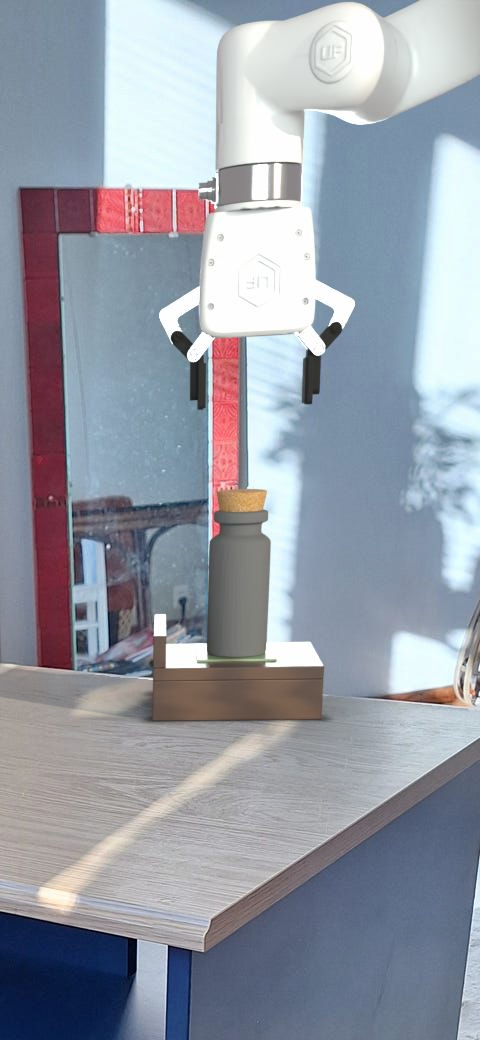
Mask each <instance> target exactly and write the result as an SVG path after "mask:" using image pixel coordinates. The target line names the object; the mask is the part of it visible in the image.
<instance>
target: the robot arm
mask: <svg viewBox="0 0 480 1040" xmlns="http://www.w3.org/2000/svg"><path fill="white" fill-rule="evenodd" d="M215 74H216V78H215V79H216V81H215V82H216V83H215V84H216V85H215V86H216V88H215V92H216V93H215V98H216V99H215V175H214V177H211V180H206V181H207V182H199V183H198V201H205V200H206V201H207V202H211V205H213V204H214V212H210V213H207V214H206V219H205V223H204V229H203V236H202V246H201V255H200V271H199V286H197V287H195V288H193V289H192V290H191V291H189V292H188V293H186V294H185V295H183V296H182V297H180V298H178V299H177V300H175V301H174V302H172V303H170V304H169V305H167V306H166V307H164V308H162V309H161V310H160V312H159V314H158V316H159V319H160V322H161V324H162V326H163V328H164V330H165V332H166V334H167V336H168V338H169V340H170V342H171V344H172V345H173V346H174V347H175V348H176V349H177V350H178V351H179V352H180V353H181V355H183V356H184V358H185V359H187V360H188V362H189V401H196V402H197V403H196V409H197V411H203V410H204V409H206V408H207V406H206V405H207V362H205V355H204V354H205V352H206V351H207V349H208V348H209V347H210V345H211V344H212V343H213V341H214V340H215V339H235V338H253V337H271V336H273V337H274V336H285V335H294V334H295V336H296V338H298V340H299V341H300V342H301V344H302V345H303V346H304V347H305V349H306V350H305V356H304V357H303V358H302V379H301V380H302V381H301V403H302V404H303V405H313V398H314V397H313V395H320V391H321V371H322V368H321V367H322V355H323V354H324V353H325V351H326V350H327V349H328V348H329V347H330V346H331V345H332V343H334V342H335V340H337V338H338V337H339V336H340V335H341V334H342V333H343V330H344V327H345V326H346V324H347V322H348V320H349V318H350V316H351V314H352V312H353V310H354V308H355V306H356V303H355V300H354V299H353V298H351V297H349V296H348V295H346V294H344V293H342V292H340V291H338V290H336V289H334V288H332V287H330V286H329V285H327V284H324V283H323V282H321V281H319V280H317V279H316V250H315V248H316V247H315V231H314V223H313V214H312V210H311V207H309V206H302V205H303V203H302V201H303V174H304V170H303V169H304V145H305V117H306V116H305V113H306V111H317V112H321V113H325V114H327V115H328V114H329V115H332V116H335V117H337V118H339V119H341V120H343V121H345V122H347V123H350V124H353V125H354V124H355V125H369V124H370V125H371V124H375V123H377V122H382V121H385V120H387V119H390V118H392V117H394V116H395V117H396V116H397V115H400V114H402V113H404V112H406V111H409V110H411V109H413V108H415V107H417V106H420V105H422V104H424V103H426V102H429V101H431V100H434V99H436V98H437V97H440V96H441V95H444V94H447V93H448V92H451V91H452V90H455V89H457V88H458V87H460V86H462V85H464V84H466V83H468V82H469V81H471V80H473V79H475V78H477V77H478V76H479V75H480V0H418V1H415V2H413V3H411V4H410V5H408V6H406V7H404V8H401V9H399V10H397V11H395V12H393V13H391V14H389V15H387V16H385V17H383V16H381V15H380V14H378V13H377V12H376V11H375V10H373V8H370V7H369V6H367V5H365V4H363V3H360V2H355V1H342V2H336V3H332V4H329V5H328V4H327V5H325V6H322V7H319V8H317V9H314V10H312V11H308V12H306V13H303V14H300V15H297V16H293V17H291V18H287V19H285V20H259V21H252V22H246V23H243V24H239V25H236V26H233V27H232V28H230V29H228V30H227V31H226V32H225V33H223V35H222V36H221V38H220V39H219V42H218V44H217V50H216V73H215ZM316 300H318V301H319V302H322V303H323V304H325V305H327V306H329V307H331V308H332V309H333V311H334V313H333V316H332V318H331V320H330V322H329V325H327V326H326V327H325V329H324V330H323V331H322V332H321V333H320V334H319V335H318V333H317V332H316V331H315V330H314V328H313V327H312V325H313V323H314V319H315V313H316V312H315V311H316ZM196 306H198V319H199V320H198V321H199V327H200V330H201V333H200V335H199V336H198V337H197V338H196V340H195V341H194V343H193V342H192V341H191V340H190V339H189V338H188V337H187V335H185V334H184V332H183V330H182V329H181V327H180V324H179V322H178V319H179V317H180V316H182V315H184V314H185V313H187V312H188V311H190V310H191V309H193V308H195V307H196Z"/></svg>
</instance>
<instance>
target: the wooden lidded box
mask: <svg viewBox="0 0 480 1040" xmlns="http://www.w3.org/2000/svg"><path fill="white" fill-rule="evenodd" d="M152 637H153V642H152V645H153V647H152V660H153V661H152V722H174V721H175V722H178V721H180V722H181V721H184V722H185V721H188V722H189V721H193V722H194V721H268V720H269V721H276V720H277V721H278V720H279V721H282V720H284V721H285V720H289V721H290V720H298V721H299V720H321V719H322V714H323V713H322V711H323V694H324V678H325V665H324V664H323V662H322V660H321V658H320V656H319V655H318V653H317V651H316V649H315V647H314V645H313V644H312V642H311V641H278V642H276V641H274V642H273V641H272V642H270V641H269V642H268V641H267V644H266V652H265V653H264V654H261V655H257V656H250V657H220V656H214V655H211V654H208V653H207V642H206V643H167V614H165V613H156V614H155V613H154V615H153V636H152Z"/></svg>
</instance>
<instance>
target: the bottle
mask: <svg viewBox="0 0 480 1040" xmlns="http://www.w3.org/2000/svg"><path fill="white" fill-rule="evenodd" d="M267 495H268V490H266V489H263V488H261V489H258V488H235V489H234V488H233V489H231V488H230V489H223V490H218V491H216V497H217V502H218V509H217V510H216V511H214V512H213V522H214V523H216V524H219V532H218V534H216V535H214V536H213V537H212V538H211V539H210V540H209V547H208V548H209V549H208V576H207V579H208V580H207V610H206V611H207V613H206V614H207V615H206V643H207V653H208V654H211V655H214V656H220V657H250V656H257V655H261V654H264V653H265V652H266V644H267V642H268V624H269V623H268V622H269V602H270V601H269V600H270V596H269V595H270V574H271V553H272V552H271V549H272V548H271V545H272V541H271V539H270V538H269V536H267V534H265V533H263V532H262V526H263V523H266V522H268V521H269V510H267V509H264V507H265V503H266V499H267Z"/></svg>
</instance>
